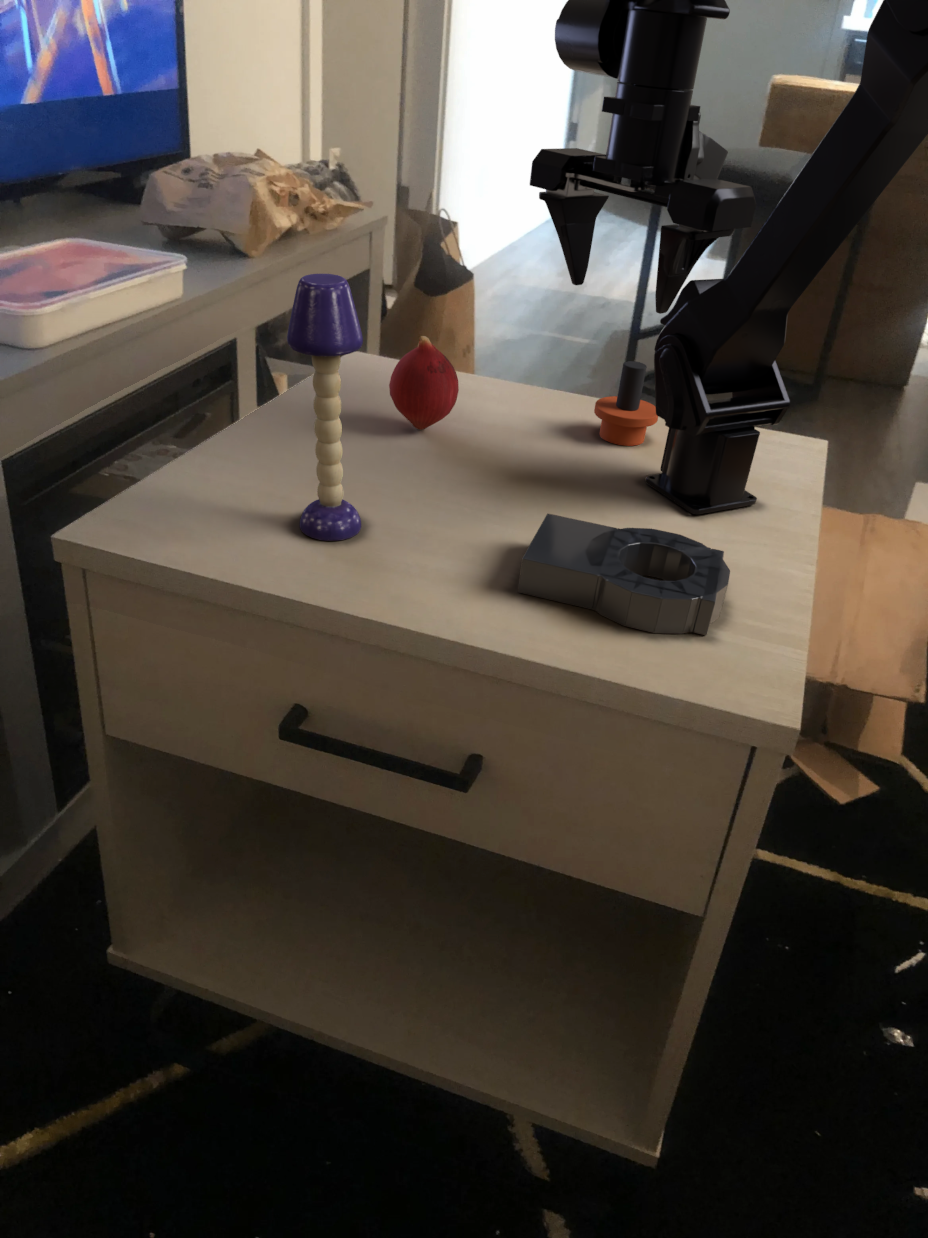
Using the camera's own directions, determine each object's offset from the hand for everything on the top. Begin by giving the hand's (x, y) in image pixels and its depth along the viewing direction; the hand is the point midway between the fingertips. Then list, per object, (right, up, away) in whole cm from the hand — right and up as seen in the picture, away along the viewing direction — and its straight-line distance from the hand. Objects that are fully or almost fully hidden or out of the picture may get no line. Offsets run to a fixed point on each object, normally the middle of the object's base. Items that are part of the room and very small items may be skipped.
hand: (618, 298), depth 80 cm
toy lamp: (-23, -21, -14) cm, 34 cm away
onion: (-17, -11, +3) cm, 20 cm away
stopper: (+1, -11, +5) cm, 12 cm away
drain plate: (-3, -25, -18) cm, 31 cm away
